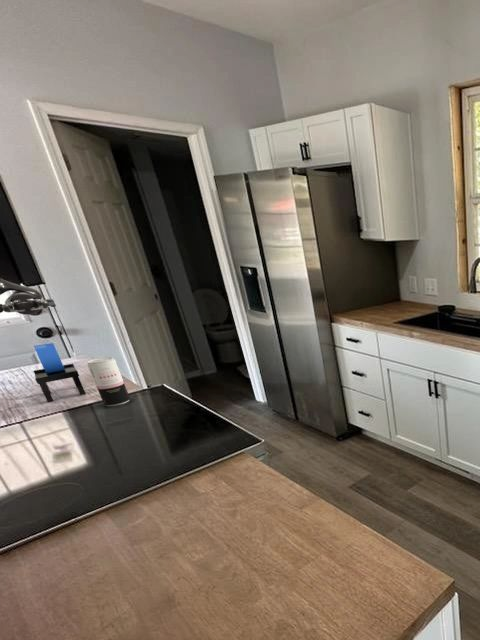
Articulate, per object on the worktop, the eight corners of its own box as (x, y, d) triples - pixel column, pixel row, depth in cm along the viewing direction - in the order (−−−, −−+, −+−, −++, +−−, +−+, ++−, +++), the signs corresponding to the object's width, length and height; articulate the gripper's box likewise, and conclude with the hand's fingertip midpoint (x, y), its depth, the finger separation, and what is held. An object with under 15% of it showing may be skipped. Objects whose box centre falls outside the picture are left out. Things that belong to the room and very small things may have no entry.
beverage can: (104, 402, 137) (86, 360, 132) (130, 397, 142) (114, 355, 136) (104, 408, 133) (86, 364, 128) (131, 402, 137) (114, 359, 132)
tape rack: (44, 393, 148) (33, 370, 145) (82, 385, 155) (72, 363, 152) (46, 402, 139) (35, 378, 136) (87, 393, 146) (77, 370, 143)
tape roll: (45, 371, 139) (32, 343, 138) (47, 375, 146) (35, 348, 145) (64, 368, 142) (52, 340, 141) (65, 372, 149) (54, 345, 148)
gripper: (-10, 295, 147) (-10, 299, 137) (48, 290, 157) (51, 293, 147) (0, 316, 149) (0, 321, 139) (56, 310, 159) (60, 314, 149)
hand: (26, 307), depth 143 cm, fingers open, 8 cm apart
